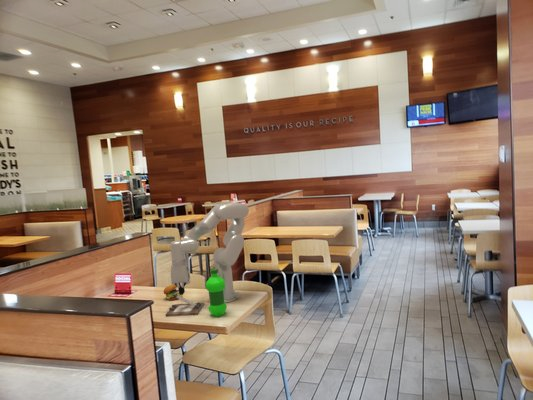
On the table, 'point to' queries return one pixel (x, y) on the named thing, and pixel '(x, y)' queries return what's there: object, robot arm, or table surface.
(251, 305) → the table surface
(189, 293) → the table surface
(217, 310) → the plastic bottle
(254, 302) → the table surface
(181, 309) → the ticket board
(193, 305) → the hold down bar
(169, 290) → the cheeseburger
